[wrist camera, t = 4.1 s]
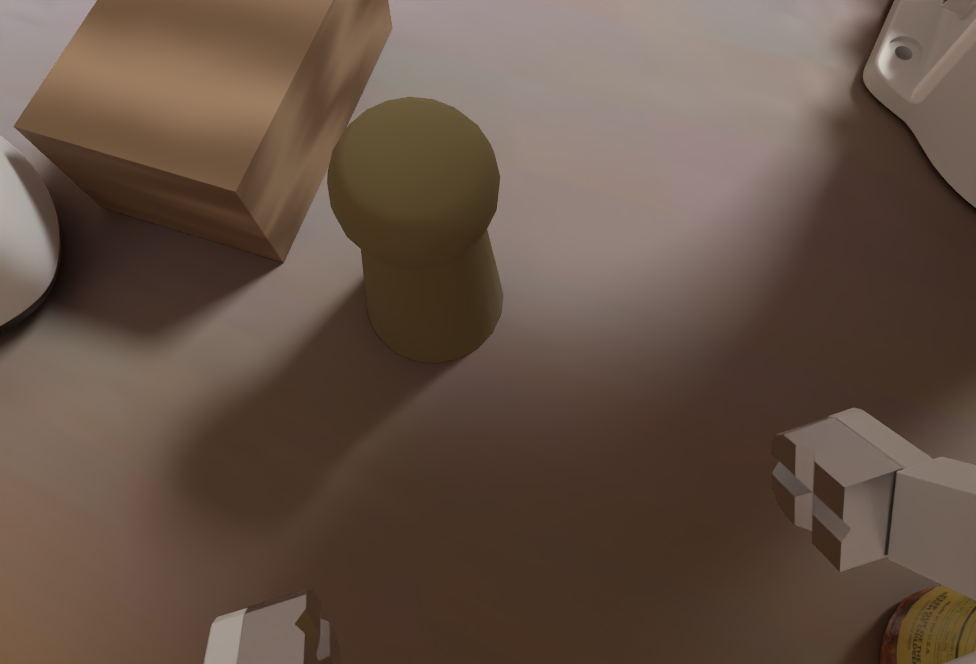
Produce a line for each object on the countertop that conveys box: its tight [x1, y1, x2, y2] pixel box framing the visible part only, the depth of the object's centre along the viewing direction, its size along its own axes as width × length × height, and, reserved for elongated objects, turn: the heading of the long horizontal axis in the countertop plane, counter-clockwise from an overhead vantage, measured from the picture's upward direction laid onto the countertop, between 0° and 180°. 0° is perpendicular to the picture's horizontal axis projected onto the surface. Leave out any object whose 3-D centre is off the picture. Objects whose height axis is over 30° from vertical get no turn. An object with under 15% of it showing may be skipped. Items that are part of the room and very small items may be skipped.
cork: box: [327, 97, 503, 363], centre depth 23 cm, size 6×6×11 cm
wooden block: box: [14, 0, 392, 263], centre depth 29 cm, size 14×9×6 cm, turn 162°
